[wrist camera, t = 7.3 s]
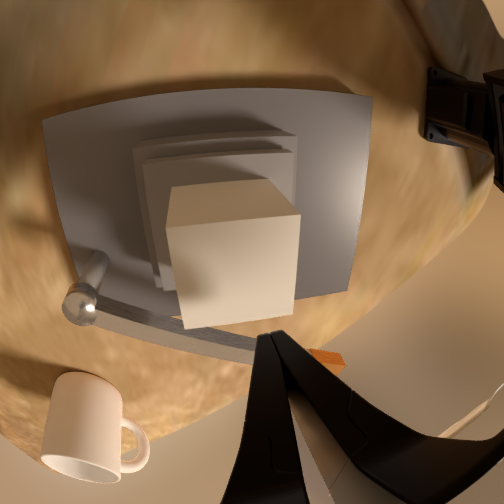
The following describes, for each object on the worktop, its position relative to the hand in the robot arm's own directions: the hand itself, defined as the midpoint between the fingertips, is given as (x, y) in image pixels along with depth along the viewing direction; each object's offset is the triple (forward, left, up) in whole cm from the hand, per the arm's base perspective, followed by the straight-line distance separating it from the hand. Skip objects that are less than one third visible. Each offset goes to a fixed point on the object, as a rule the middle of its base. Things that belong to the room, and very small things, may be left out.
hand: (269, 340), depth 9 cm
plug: (+1, -1, -10) cm, 10 cm away
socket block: (+1, -1, -12) cm, 12 cm away
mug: (+16, +21, -12) cm, 29 cm away
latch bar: (+1, +6, -6) cm, 9 cm away
